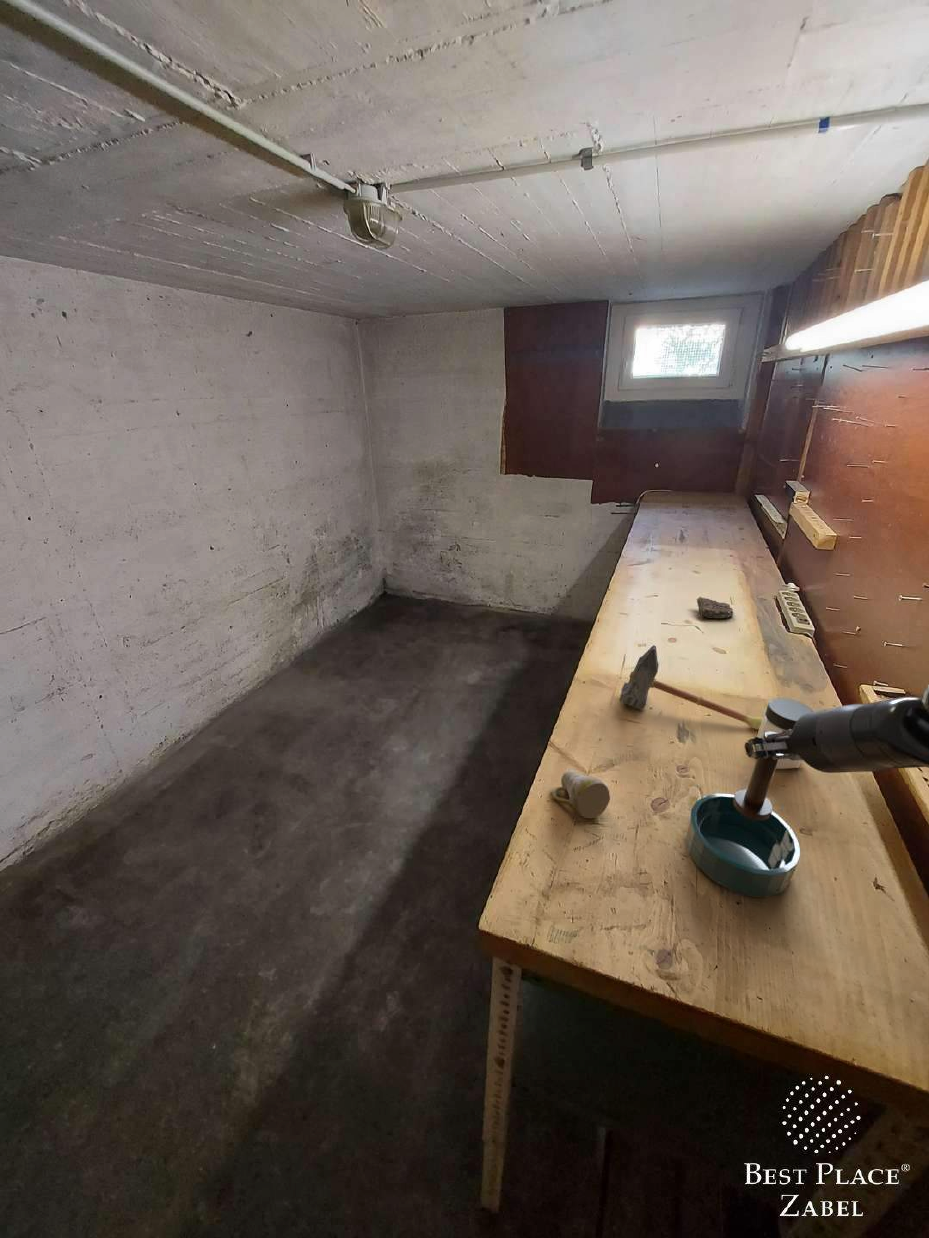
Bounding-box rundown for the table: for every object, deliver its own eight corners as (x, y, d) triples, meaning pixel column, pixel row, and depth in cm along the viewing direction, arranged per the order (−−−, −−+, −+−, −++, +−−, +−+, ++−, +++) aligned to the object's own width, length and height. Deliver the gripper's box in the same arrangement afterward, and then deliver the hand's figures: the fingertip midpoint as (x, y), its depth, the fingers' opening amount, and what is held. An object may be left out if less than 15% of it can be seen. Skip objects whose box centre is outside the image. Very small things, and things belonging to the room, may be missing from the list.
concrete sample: (694, 618, 160) (697, 604, 158) (694, 606, 168) (697, 593, 166) (733, 623, 156) (737, 609, 154) (731, 611, 164) (734, 597, 162)
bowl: (723, 805, 90) (730, 781, 87) (810, 871, 78) (821, 845, 75) (664, 840, 84) (670, 815, 81) (749, 918, 71) (759, 892, 69)
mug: (577, 775, 98) (603, 755, 91) (593, 825, 92) (622, 807, 85) (545, 777, 95) (570, 756, 88) (559, 828, 90) (586, 810, 82)
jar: (808, 760, 100) (826, 713, 95) (787, 776, 96) (805, 728, 91) (765, 736, 107) (779, 691, 102) (744, 750, 103) (757, 704, 98)
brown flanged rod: (746, 790, 79) (768, 721, 73) (778, 812, 75) (804, 741, 68) (725, 802, 77) (746, 732, 70) (757, 825, 72) (781, 753, 66)
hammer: (783, 701, 102) (642, 649, 110) (747, 753, 110) (618, 701, 118) (779, 686, 107) (644, 638, 114) (745, 738, 115) (621, 689, 123)
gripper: (892, 702, 59) (794, 720, 75) (783, 710, 58) (708, 727, 74) (916, 767, 56) (809, 771, 72) (802, 776, 55) (720, 778, 72)
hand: (758, 749), depth 73 cm, fingers closed on brown flanged rod, 2 cm apart
